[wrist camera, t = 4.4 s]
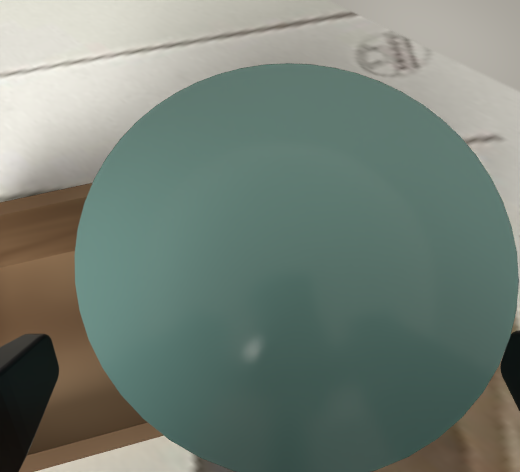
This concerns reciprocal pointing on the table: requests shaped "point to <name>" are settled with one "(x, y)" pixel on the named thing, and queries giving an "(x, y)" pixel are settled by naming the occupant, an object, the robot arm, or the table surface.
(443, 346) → the teal round cylinder
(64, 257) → the walnut tray
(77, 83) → the table surface
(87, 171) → the table surface
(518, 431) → the table surface
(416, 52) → the table surface
